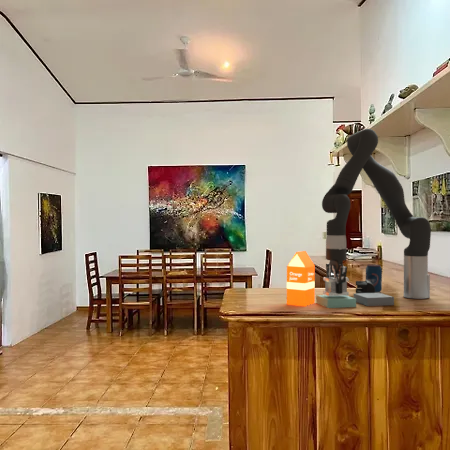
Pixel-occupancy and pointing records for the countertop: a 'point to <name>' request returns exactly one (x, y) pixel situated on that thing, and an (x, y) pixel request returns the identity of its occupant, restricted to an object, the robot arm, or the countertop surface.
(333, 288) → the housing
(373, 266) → the soda can
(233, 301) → the countertop surface
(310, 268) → the orange juice
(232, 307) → the countertop surface
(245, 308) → the countertop surface
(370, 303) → the stand
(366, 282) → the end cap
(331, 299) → the stand
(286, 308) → the countertop surface
